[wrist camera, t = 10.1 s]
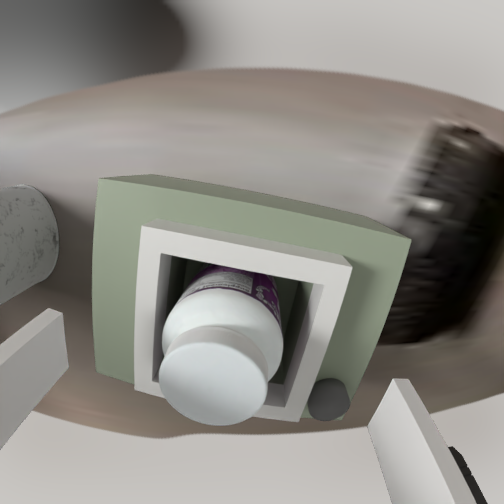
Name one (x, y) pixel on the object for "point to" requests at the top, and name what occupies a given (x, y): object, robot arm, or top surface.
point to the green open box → (251, 259)
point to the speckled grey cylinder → (25, 240)
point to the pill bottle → (222, 345)
